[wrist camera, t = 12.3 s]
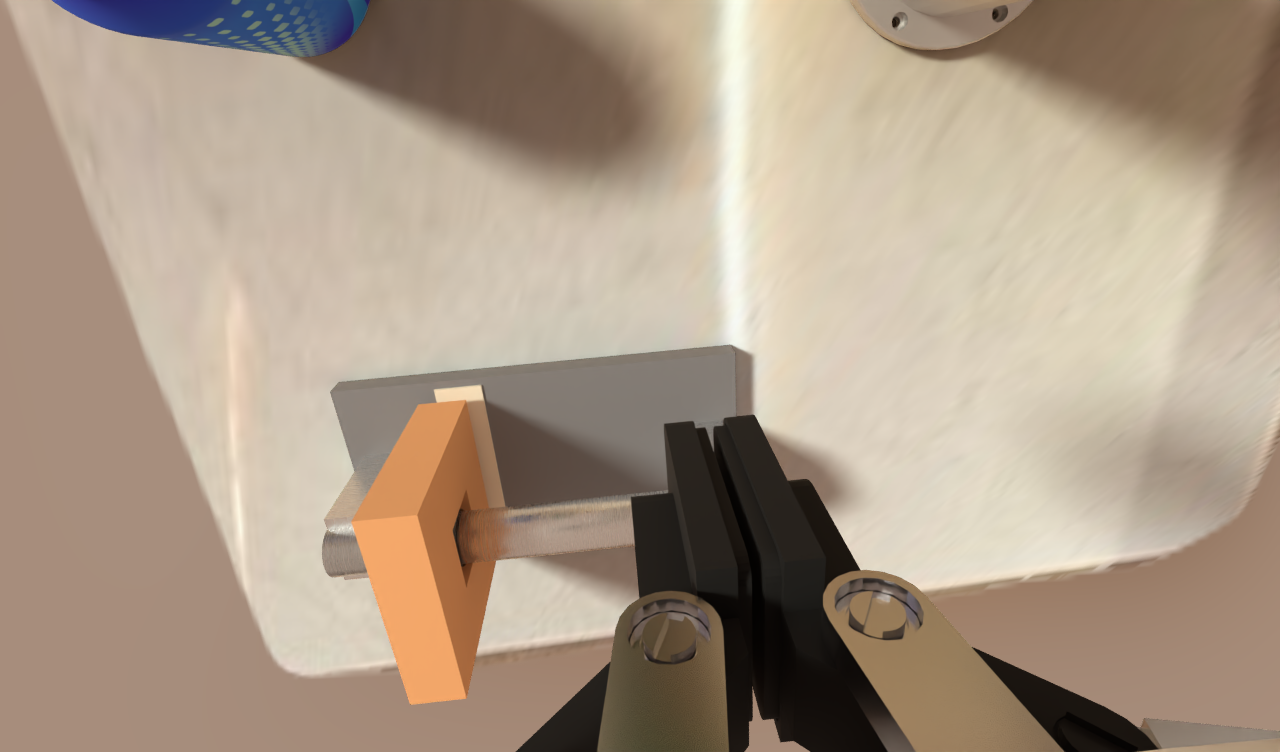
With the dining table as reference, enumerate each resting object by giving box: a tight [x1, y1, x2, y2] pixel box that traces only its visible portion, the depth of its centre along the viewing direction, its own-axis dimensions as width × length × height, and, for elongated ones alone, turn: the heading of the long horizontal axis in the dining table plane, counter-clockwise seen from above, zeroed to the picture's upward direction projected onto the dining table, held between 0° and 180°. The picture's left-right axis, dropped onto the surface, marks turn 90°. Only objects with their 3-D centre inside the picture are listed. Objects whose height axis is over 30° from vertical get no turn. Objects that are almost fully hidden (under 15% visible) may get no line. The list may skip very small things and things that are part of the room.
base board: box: [330, 345, 736, 508], centre depth 44 cm, size 26×14×2 cm, turn 94°
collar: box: [351, 400, 496, 705], centre depth 37 cm, size 3×12×12 cm, turn 5°
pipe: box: [322, 420, 723, 580], centre depth 39 cm, size 24×4×9 cm, turn 94°
